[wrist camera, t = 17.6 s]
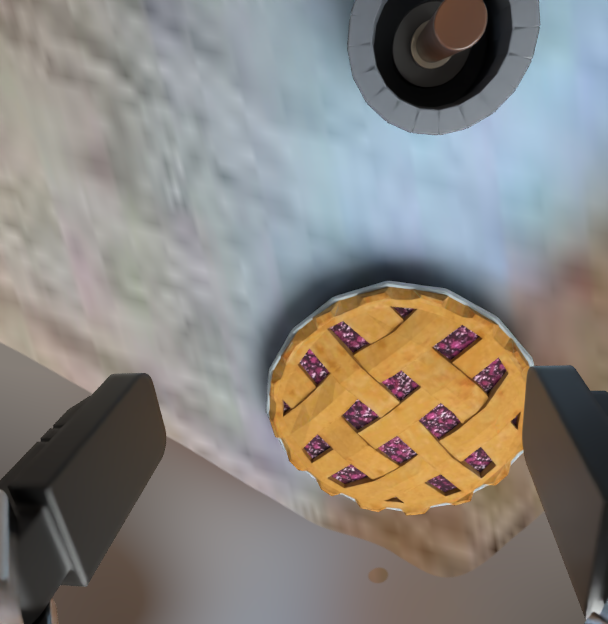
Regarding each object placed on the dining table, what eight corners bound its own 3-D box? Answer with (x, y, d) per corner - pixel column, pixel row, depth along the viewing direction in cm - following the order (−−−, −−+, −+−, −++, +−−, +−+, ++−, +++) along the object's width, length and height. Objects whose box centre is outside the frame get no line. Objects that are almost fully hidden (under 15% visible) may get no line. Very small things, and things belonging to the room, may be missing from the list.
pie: (228, 393, 47) (212, 426, 42) (383, 213, 38) (383, 231, 33) (406, 519, 50) (408, 562, 46) (588, 380, 41) (613, 417, 37)
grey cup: (332, 60, 34) (311, 50, 24) (425, -61, 31) (444, -130, 21) (423, 146, 36) (438, 171, 26) (521, 40, 32) (582, 21, 22)
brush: (376, 55, 33) (369, 31, 18) (425, -5, 31) (464, -90, 16) (424, 102, 34) (457, 117, 19) (475, 45, 32) (557, 10, 17)
